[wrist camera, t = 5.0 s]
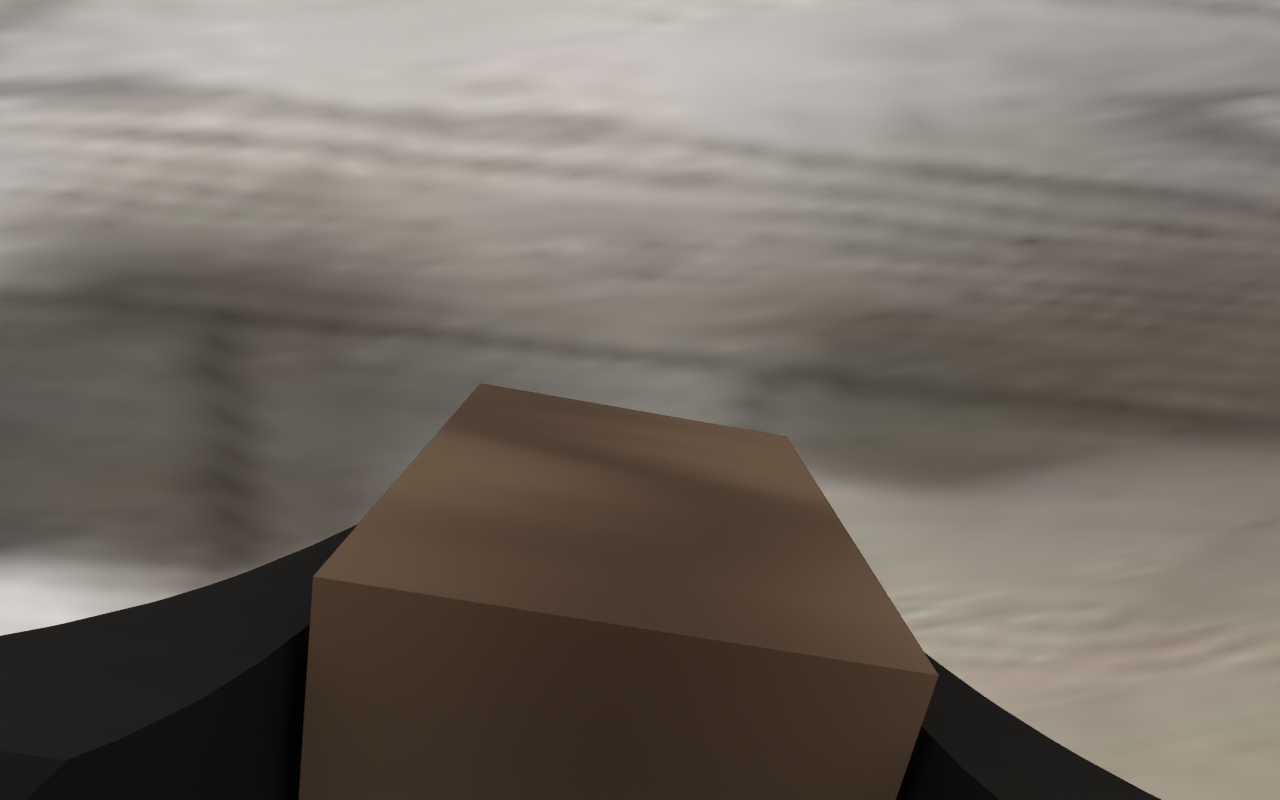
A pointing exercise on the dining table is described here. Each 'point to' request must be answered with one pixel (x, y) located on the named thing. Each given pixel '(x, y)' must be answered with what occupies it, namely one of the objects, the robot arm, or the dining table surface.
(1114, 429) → the dining table surface
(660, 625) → the walnut block
